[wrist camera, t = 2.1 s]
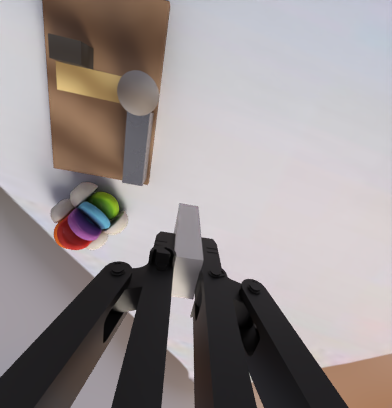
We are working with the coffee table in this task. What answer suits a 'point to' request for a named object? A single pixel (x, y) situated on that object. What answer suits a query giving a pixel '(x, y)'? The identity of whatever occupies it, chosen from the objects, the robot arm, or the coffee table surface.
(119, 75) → the board
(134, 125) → the bar
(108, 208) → the multicolored petal toy
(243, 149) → the coffee table surface
